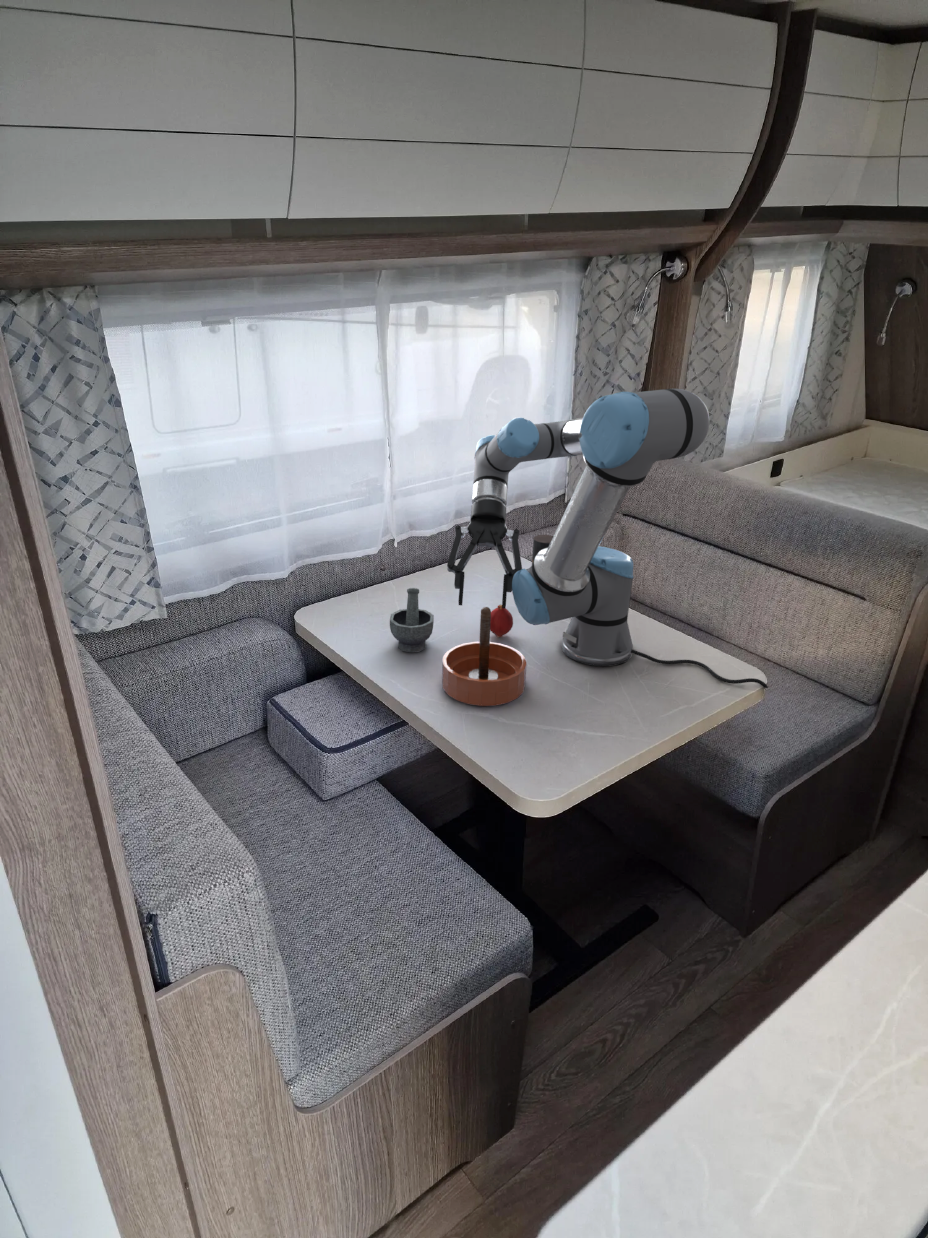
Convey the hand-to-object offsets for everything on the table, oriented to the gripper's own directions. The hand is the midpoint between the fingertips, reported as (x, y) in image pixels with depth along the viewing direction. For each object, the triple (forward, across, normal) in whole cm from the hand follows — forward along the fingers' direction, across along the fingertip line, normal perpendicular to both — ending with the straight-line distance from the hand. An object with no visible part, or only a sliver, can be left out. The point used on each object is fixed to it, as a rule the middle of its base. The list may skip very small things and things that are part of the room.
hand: (482, 604), depth 168 cm
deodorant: (-16, -15, -36) cm, 42 cm away
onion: (+1, -4, -18) cm, 19 cm away
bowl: (+17, -1, -2) cm, 17 cm away
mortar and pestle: (+5, +15, -15) cm, 22 cm away
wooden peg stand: (+16, -1, -2) cm, 16 cm away
